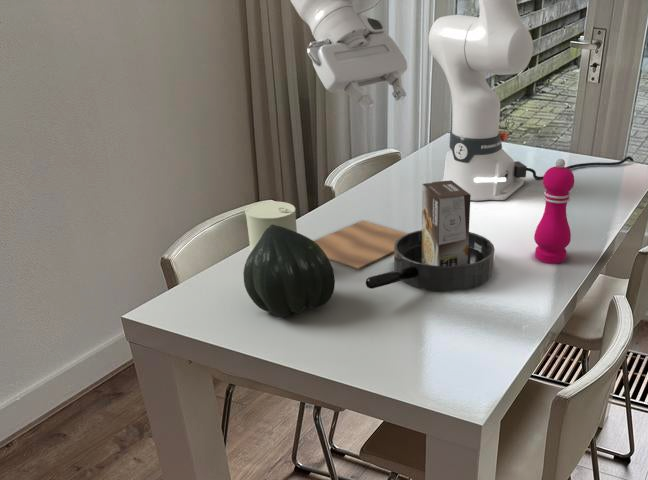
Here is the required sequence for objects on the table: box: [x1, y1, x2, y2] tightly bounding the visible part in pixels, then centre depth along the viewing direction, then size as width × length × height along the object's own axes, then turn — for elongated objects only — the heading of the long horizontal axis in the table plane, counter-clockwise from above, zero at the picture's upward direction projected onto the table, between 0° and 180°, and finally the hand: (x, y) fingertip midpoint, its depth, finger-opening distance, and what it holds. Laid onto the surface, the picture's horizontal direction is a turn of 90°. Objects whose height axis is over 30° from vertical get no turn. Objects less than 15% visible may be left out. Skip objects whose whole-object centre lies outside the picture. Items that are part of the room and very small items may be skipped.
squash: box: [243, 224, 336, 317], centre depth 131 cm, size 14×15×15 cm
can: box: [244, 200, 298, 253], centre depth 144 cm, size 9×9×12 cm
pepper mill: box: [533, 158, 575, 265], centre depth 150 cm, size 7×7×20 cm
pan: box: [393, 229, 496, 292], centre depth 147 cm, size 19×19×5 cm
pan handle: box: [365, 266, 418, 290], centre depth 136 cm, size 14×2×4 cm, turn 145°
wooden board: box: [313, 220, 407, 271], centre depth 159 cm, size 20×16×1 cm
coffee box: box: [421, 180, 471, 266], centre depth 144 cm, size 9×6×16 cm
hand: (386, 102), depth 140 cm, fingers open, 8 cm apart
